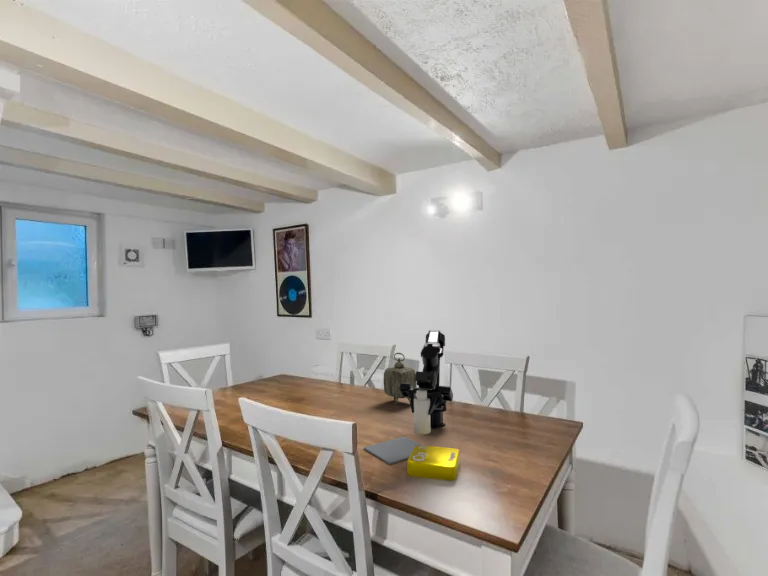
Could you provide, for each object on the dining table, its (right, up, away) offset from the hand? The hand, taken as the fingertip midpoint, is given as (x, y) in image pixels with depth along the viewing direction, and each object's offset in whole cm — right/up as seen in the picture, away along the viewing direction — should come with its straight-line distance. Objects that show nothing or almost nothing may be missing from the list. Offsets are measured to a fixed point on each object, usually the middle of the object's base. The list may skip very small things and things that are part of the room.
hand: (420, 413), depth 138 cm
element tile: (+3, -14, -11) cm, 18 cm away
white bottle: (+1, -7, +1) cm, 7 cm away
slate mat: (-8, -14, +3) cm, 16 cm away
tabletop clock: (-5, -14, +61) cm, 63 cm away
